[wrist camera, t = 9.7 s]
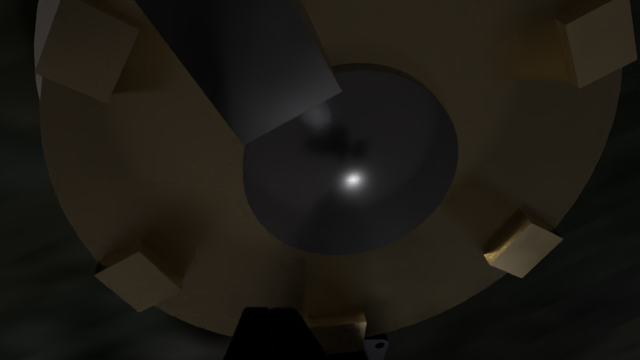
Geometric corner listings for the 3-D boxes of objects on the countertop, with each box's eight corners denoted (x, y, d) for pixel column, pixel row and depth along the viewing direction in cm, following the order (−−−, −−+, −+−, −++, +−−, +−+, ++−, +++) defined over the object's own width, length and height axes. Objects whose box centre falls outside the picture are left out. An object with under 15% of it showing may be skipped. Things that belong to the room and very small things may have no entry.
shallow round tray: (599, 169, 20) (743, 305, 15) (253, 335, 23) (262, 505, 17) (488, -338, 11) (754, -489, 6) (-66, 30, 14) (-264, 179, 8)
